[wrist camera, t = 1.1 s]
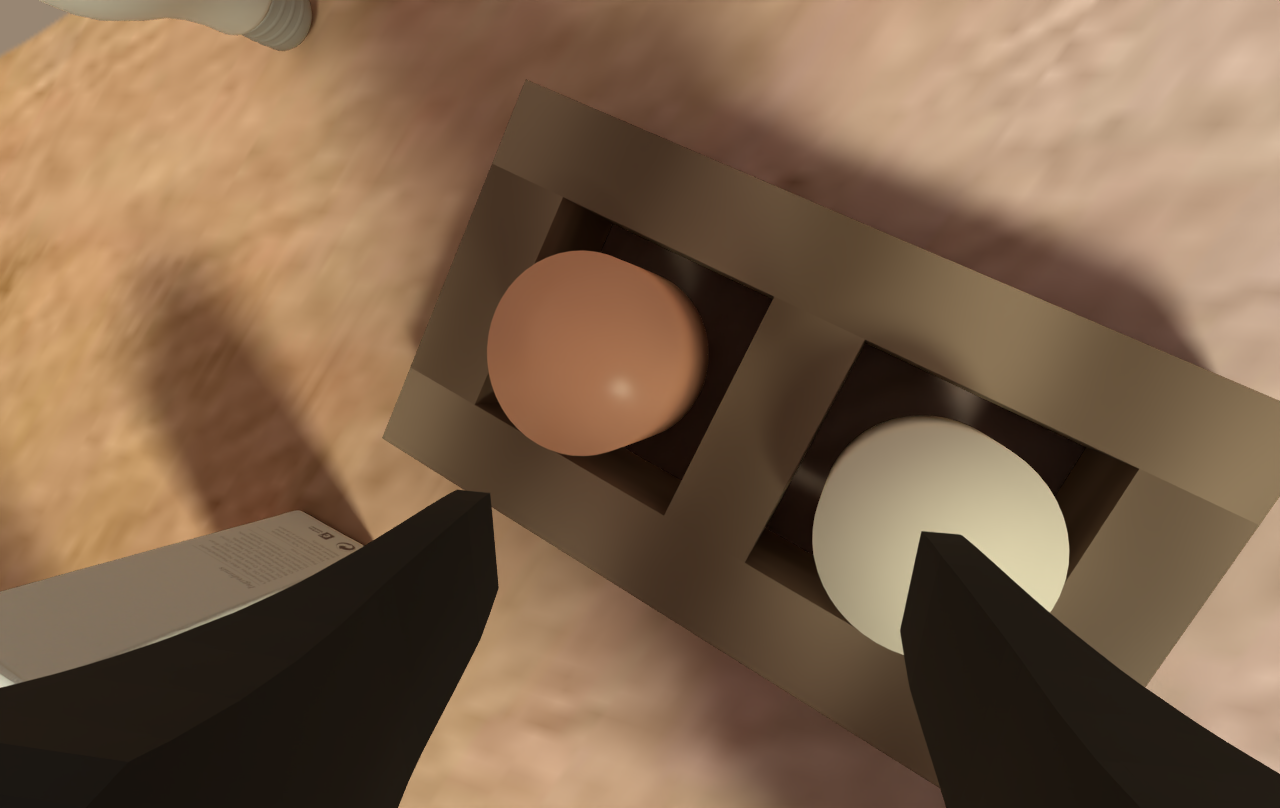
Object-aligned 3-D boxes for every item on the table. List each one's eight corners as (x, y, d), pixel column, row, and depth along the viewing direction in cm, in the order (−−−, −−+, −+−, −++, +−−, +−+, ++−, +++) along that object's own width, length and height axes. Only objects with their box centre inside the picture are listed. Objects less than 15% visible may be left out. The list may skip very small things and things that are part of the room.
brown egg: (739, 314, 19) (712, 304, 16) (661, 470, 20) (620, 493, 17) (588, 240, 20) (534, 217, 17) (522, 391, 21) (458, 397, 18)
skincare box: (299, 505, 28) (-85, 604, 17) (381, 550, 27) (29, 689, 16) (262, 634, 29) (-123, 810, 18) (340, 683, 28) (-18, 903, 17)
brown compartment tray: (1234, 410, 18) (1331, 422, 14) (1002, 756, 20) (1032, 846, 17) (581, 124, 23) (525, 79, 20) (454, 426, 26) (382, 438, 22)
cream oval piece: (1071, 475, 17) (1121, 503, 14) (965, 643, 18) (987, 707, 14) (878, 381, 18) (881, 386, 15) (789, 543, 19) (772, 582, 16)
